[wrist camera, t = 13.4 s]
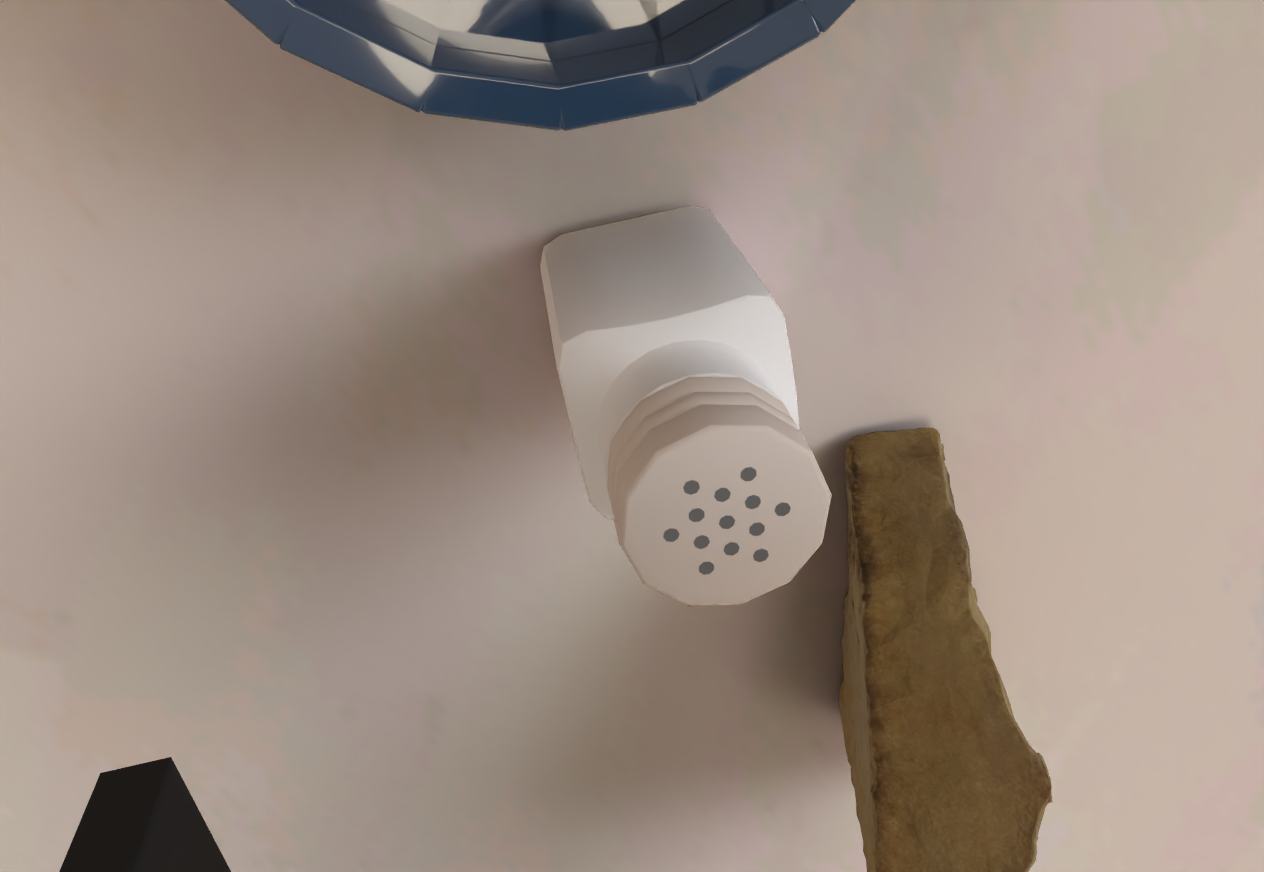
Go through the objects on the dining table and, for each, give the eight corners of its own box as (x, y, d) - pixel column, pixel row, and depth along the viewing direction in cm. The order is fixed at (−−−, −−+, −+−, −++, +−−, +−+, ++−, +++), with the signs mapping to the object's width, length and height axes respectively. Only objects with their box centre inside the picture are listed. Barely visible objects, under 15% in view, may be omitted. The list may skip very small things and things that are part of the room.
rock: (784, 405, 23) (643, 777, 25) (1179, 604, 18) (950, 1039, 20) (973, 405, 31) (852, 685, 34) (1278, 541, 26) (1105, 855, 29)
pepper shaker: (711, 192, 22) (848, 371, 14) (735, 355, 24) (869, 597, 16) (532, 232, 22) (564, 436, 14) (571, 393, 24) (619, 656, 16)
